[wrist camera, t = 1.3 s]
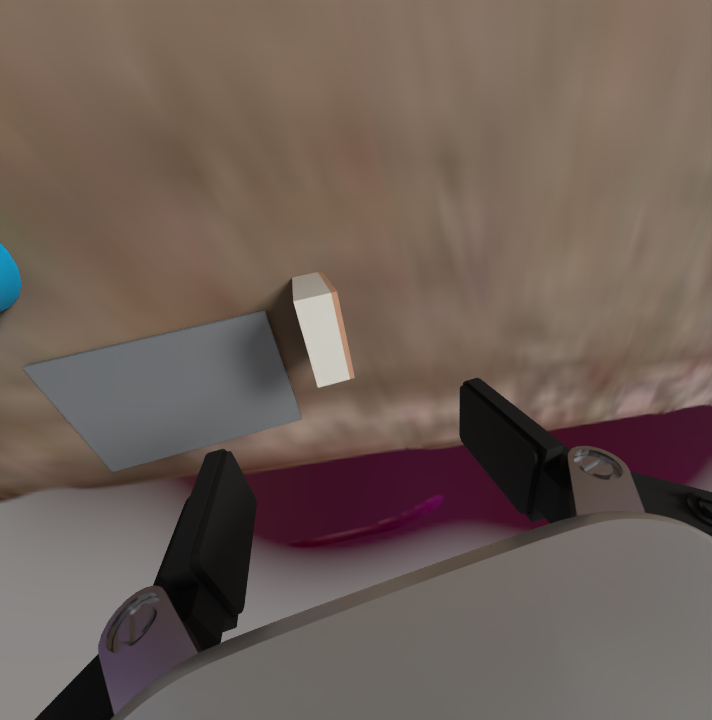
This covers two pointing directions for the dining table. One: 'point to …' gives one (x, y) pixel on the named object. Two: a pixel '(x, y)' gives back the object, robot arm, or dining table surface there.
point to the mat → (172, 390)
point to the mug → (8, 280)
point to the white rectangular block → (322, 328)
